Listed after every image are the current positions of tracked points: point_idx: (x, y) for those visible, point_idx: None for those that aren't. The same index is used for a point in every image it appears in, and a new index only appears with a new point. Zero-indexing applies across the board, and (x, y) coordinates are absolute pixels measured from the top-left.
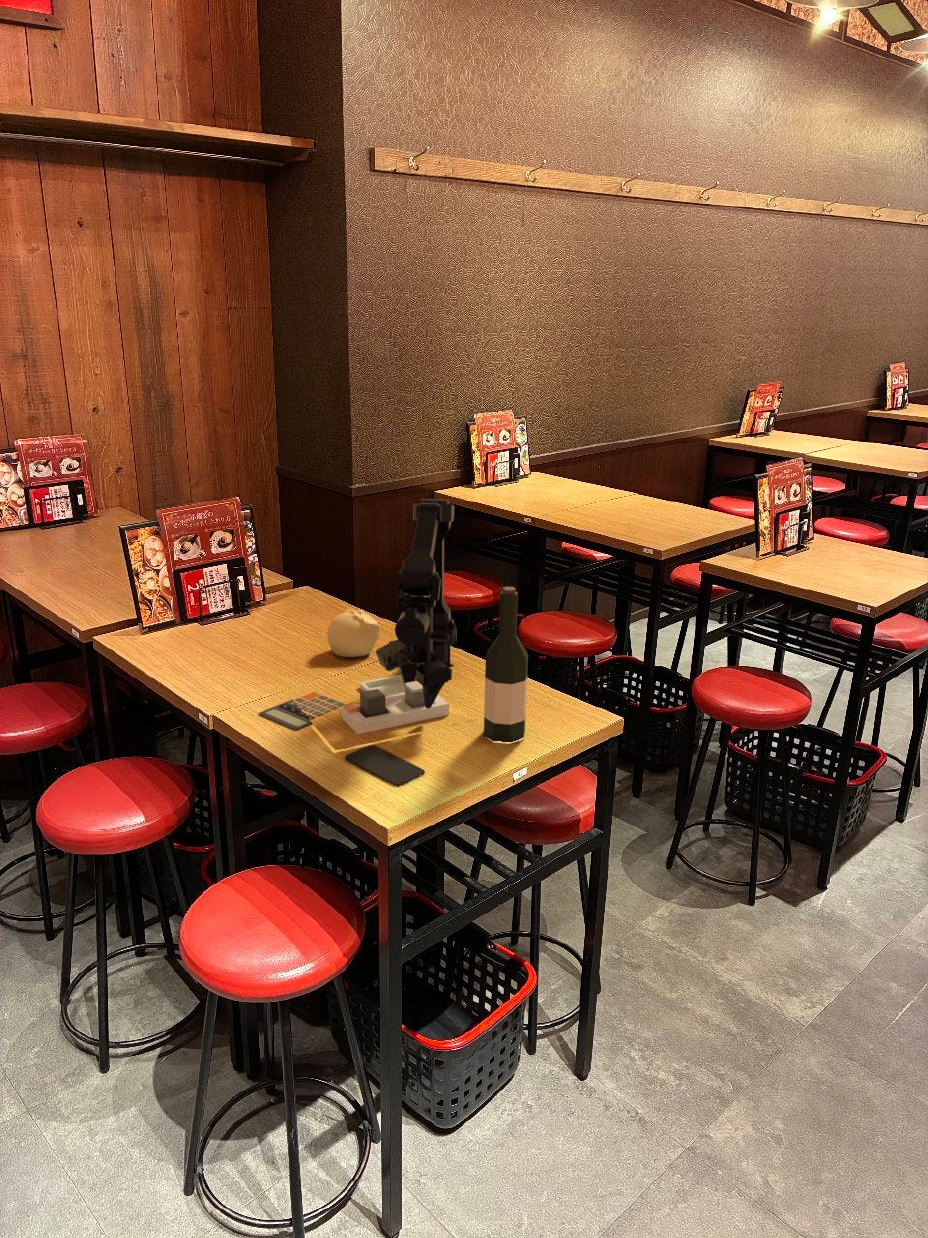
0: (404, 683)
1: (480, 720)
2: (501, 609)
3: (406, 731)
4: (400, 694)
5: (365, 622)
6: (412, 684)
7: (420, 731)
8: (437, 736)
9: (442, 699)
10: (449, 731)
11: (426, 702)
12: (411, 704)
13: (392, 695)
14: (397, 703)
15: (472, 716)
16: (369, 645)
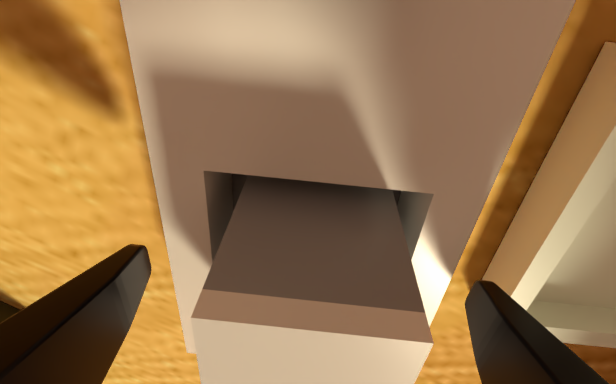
0: (527, 332)
1: (137, 344)
2: None
3: (109, 14)
4: (550, 241)
5: None
6: (342, 373)
7: (87, 99)
8: (2, 146)
9: None
10: (57, 221)
11: (74, 280)
12: (270, 202)
13: (591, 195)
14: (359, 122)
15: (182, 343)
16: None
